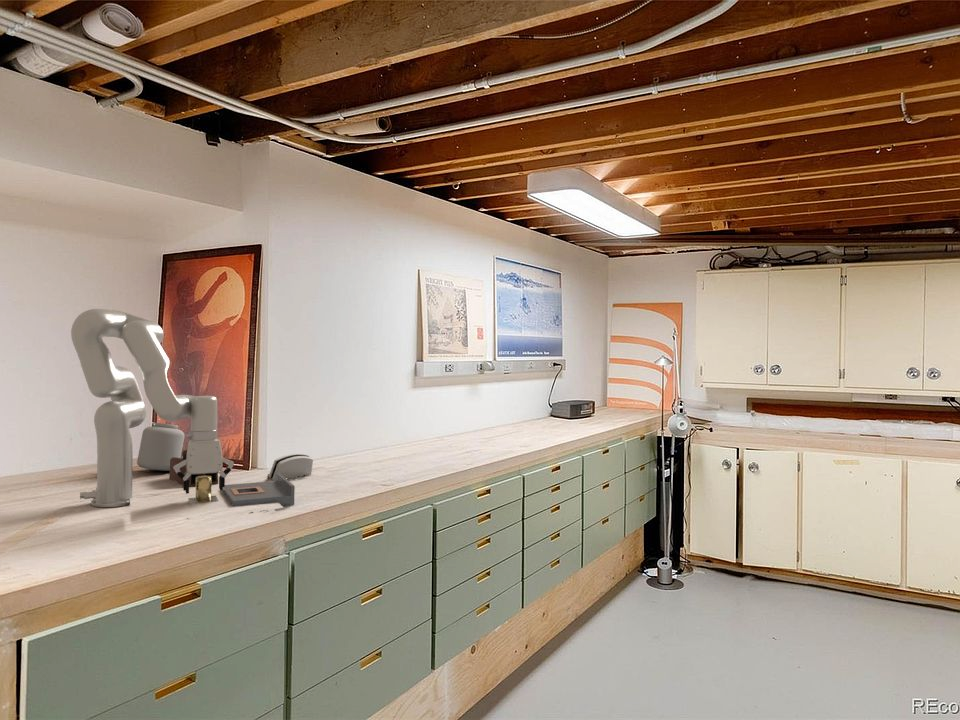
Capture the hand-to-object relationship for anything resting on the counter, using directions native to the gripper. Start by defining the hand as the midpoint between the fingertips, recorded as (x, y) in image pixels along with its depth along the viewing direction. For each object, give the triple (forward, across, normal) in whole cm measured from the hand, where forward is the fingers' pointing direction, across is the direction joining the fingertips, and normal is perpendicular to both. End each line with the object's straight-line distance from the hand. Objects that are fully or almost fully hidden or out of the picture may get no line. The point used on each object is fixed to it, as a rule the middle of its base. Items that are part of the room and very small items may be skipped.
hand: (204, 491), depth 202 cm
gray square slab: (+4, 0, 0) cm, 4 cm away
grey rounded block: (+5, +34, +31) cm, 46 cm away
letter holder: (+4, 0, +37) cm, 38 cm away
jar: (+4, -8, +62) cm, 63 cm away
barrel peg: (+3, 0, 0) cm, 3 cm away
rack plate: (+4, +16, 0) cm, 16 cm away
